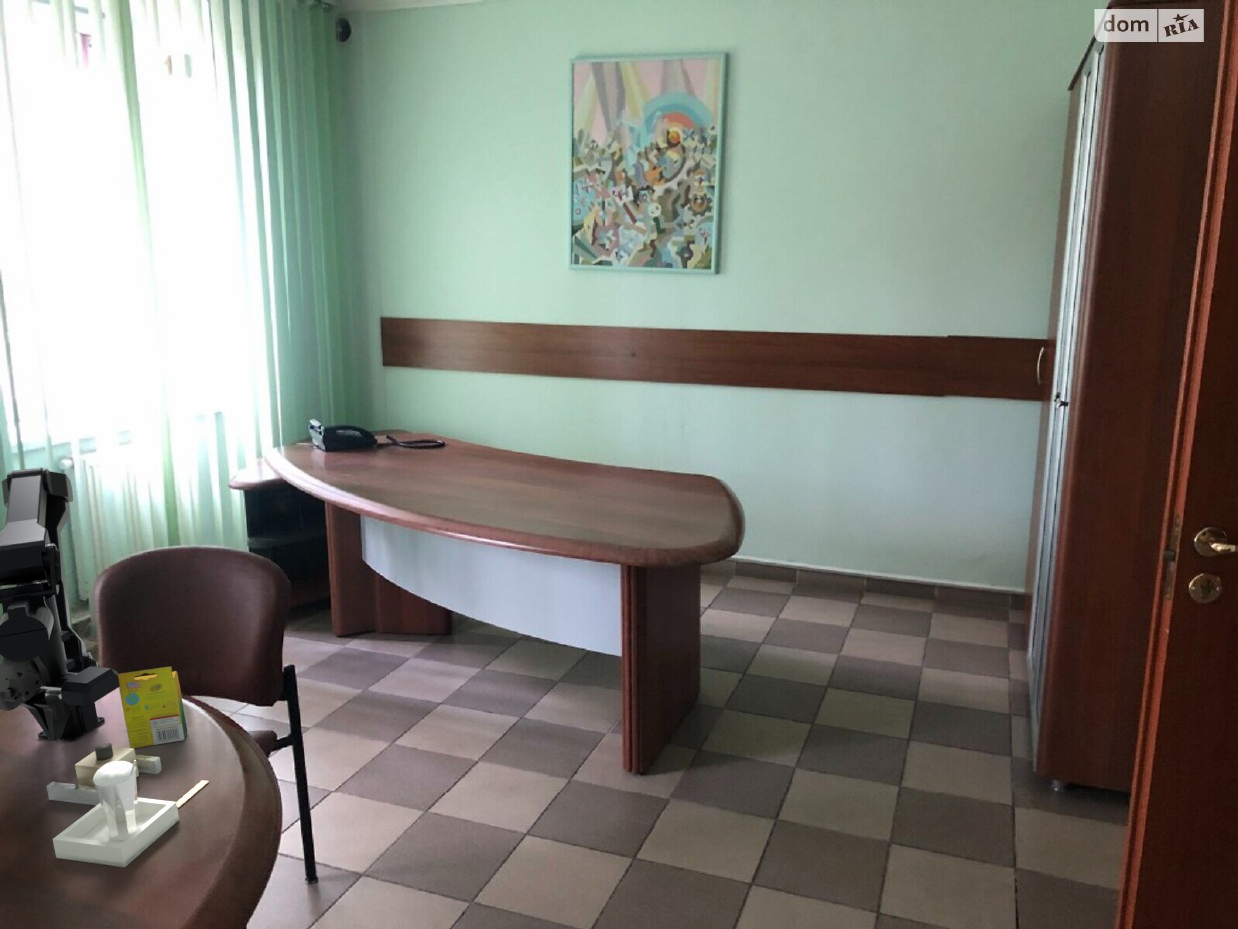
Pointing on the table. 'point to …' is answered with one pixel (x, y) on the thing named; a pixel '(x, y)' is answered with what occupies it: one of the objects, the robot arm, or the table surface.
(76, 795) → the slide rails
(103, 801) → the milkshake
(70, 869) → the table surface
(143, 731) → the crayon box
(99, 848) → the tray
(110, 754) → the slider
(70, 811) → the table surface
